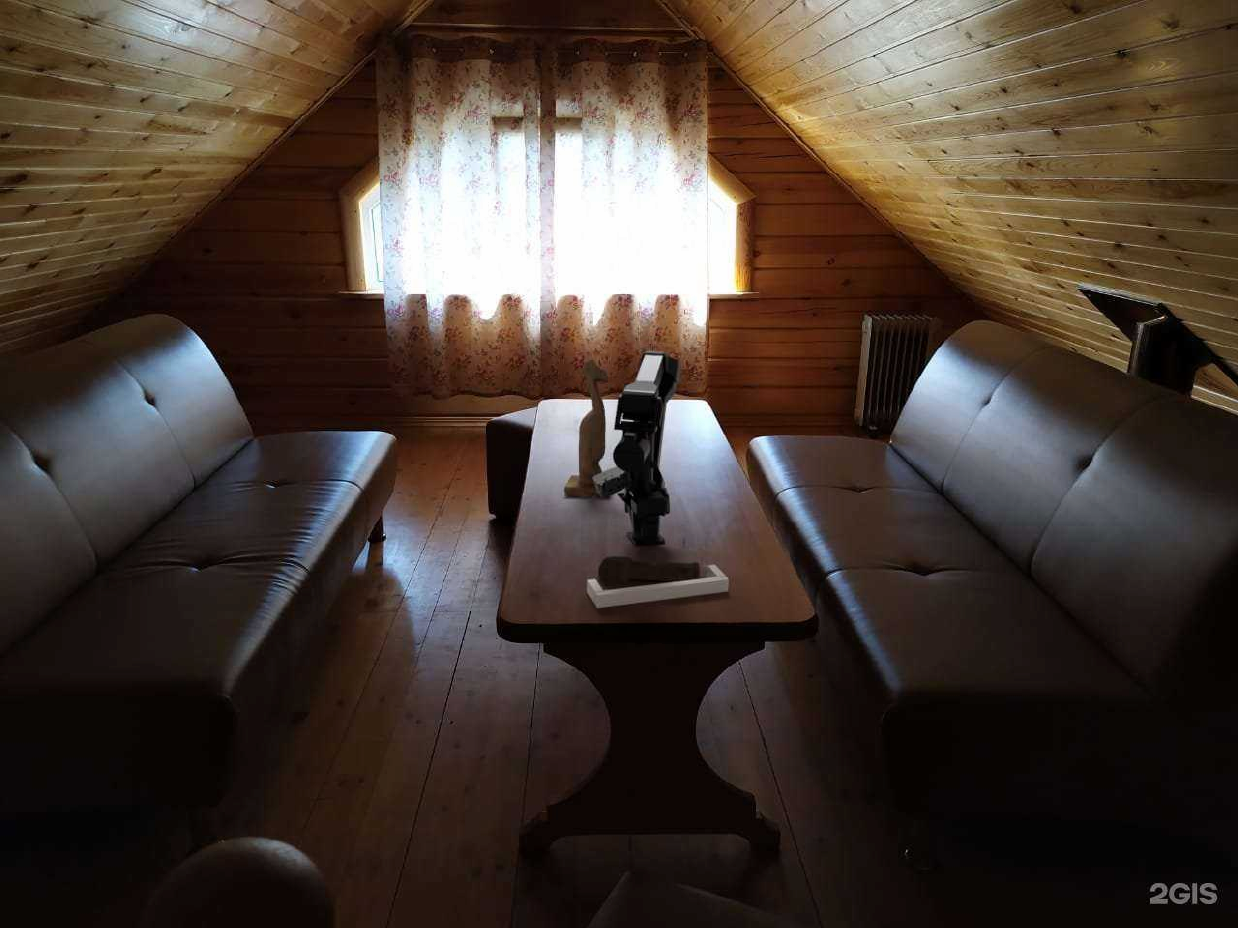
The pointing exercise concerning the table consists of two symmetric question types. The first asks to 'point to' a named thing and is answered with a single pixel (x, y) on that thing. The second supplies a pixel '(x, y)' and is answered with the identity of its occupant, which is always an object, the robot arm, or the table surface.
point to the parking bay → (658, 590)
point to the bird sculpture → (590, 438)
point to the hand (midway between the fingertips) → (636, 531)
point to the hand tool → (646, 570)
